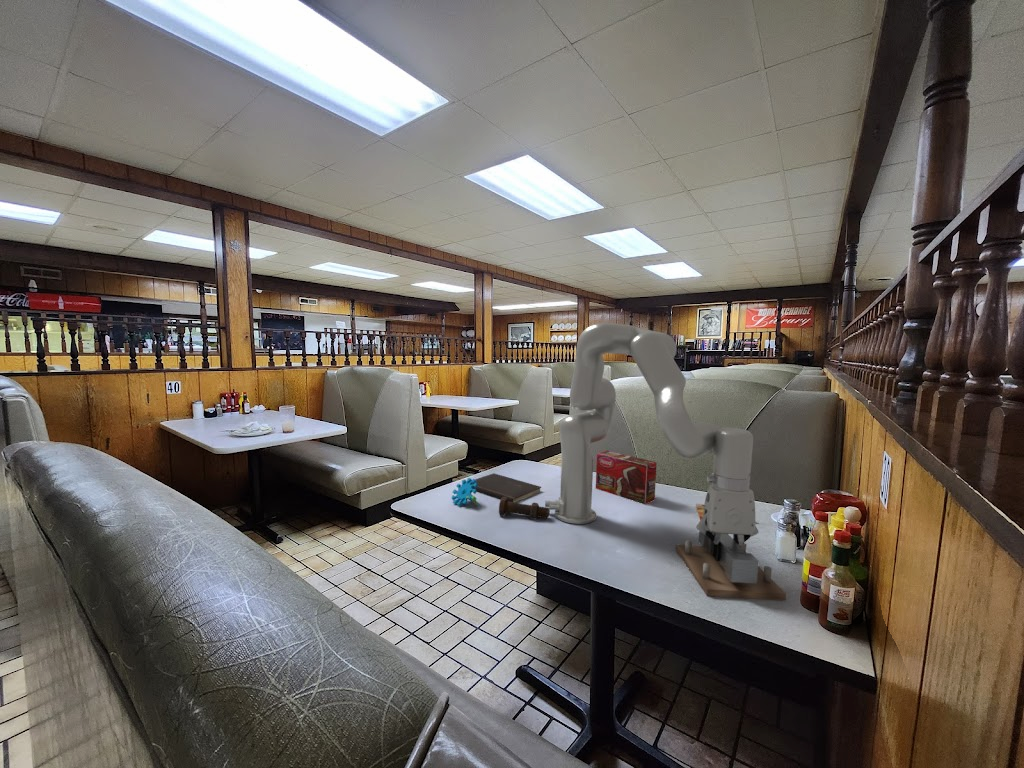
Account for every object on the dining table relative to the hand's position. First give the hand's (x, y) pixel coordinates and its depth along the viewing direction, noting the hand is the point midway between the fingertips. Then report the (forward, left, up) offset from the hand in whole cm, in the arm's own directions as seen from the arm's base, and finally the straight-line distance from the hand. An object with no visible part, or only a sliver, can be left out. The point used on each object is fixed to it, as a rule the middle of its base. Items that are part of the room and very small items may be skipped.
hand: (724, 558), depth 97 cm
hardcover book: (-56, +50, -4) cm, 75 cm away
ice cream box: (-13, +50, -4) cm, 52 cm away
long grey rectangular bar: (0, 0, -1) cm, 1 cm away
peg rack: (0, 0, -3) cm, 3 cm away
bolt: (-47, +27, -4) cm, 55 cm away
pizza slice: (+9, +32, -4) cm, 33 cm away
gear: (-67, +35, -4) cm, 76 cm away
